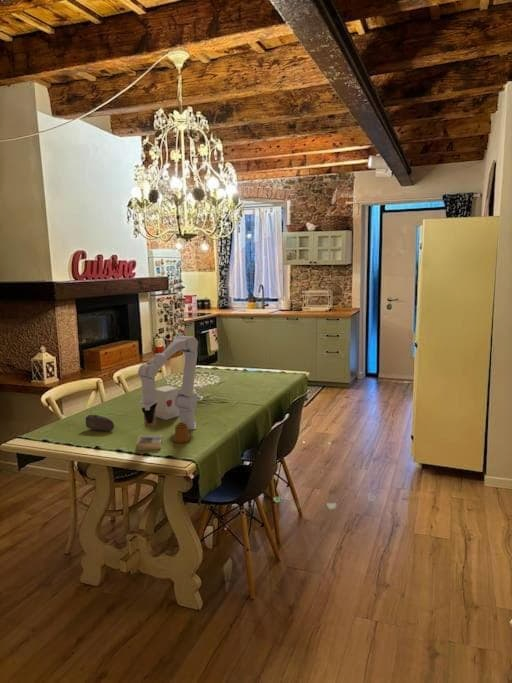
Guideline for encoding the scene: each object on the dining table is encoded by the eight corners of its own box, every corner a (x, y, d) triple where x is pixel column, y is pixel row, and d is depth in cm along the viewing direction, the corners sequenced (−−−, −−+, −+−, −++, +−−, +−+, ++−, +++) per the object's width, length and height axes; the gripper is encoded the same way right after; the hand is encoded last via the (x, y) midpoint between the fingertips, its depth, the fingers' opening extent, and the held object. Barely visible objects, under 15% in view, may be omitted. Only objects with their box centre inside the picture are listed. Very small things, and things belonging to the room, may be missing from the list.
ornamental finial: (191, 442, 214) (174, 444, 212) (189, 436, 221) (173, 438, 219) (190, 425, 213) (173, 426, 211) (188, 419, 220) (172, 421, 218)
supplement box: (165, 420, 244) (164, 391, 241) (155, 417, 250) (153, 388, 247) (180, 416, 250) (178, 387, 248) (169, 412, 256) (167, 385, 254)
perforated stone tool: (117, 430, 232) (116, 416, 231) (110, 433, 227) (109, 419, 226) (92, 426, 238) (91, 413, 237) (85, 430, 233) (83, 416, 232)
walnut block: (146, 423, 216) (145, 410, 215) (156, 422, 217) (155, 409, 216) (144, 426, 212) (143, 413, 211) (154, 426, 212) (154, 412, 211)
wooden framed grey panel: (140, 441, 216) (139, 434, 216) (163, 440, 217) (162, 433, 216) (136, 450, 206) (136, 443, 206) (160, 449, 207) (160, 442, 207)
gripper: (142, 387, 219) (143, 416, 221) (136, 396, 204) (138, 427, 207) (157, 386, 219) (159, 415, 221) (153, 395, 205) (155, 426, 207)
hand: (150, 421), depth 214 cm, fingers closed on walnut block, 4 cm apart
